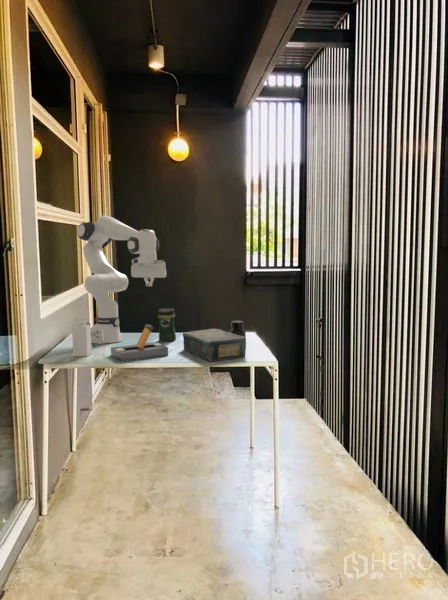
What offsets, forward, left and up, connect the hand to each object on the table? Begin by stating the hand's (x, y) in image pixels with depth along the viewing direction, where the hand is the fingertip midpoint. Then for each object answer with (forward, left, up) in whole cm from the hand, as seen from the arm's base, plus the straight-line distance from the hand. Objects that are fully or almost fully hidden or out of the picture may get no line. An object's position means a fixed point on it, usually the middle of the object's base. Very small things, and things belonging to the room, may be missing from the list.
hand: (149, 286), depth 253 cm
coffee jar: (-1, +19, -33) cm, 38 cm away
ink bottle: (+40, +26, -33) cm, 58 cm away
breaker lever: (+5, -19, -29) cm, 35 cm away
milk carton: (-23, -28, -33) cm, 49 cm away
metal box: (+38, -2, -34) cm, 51 cm away
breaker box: (+5, -19, -33) cm, 39 cm away
